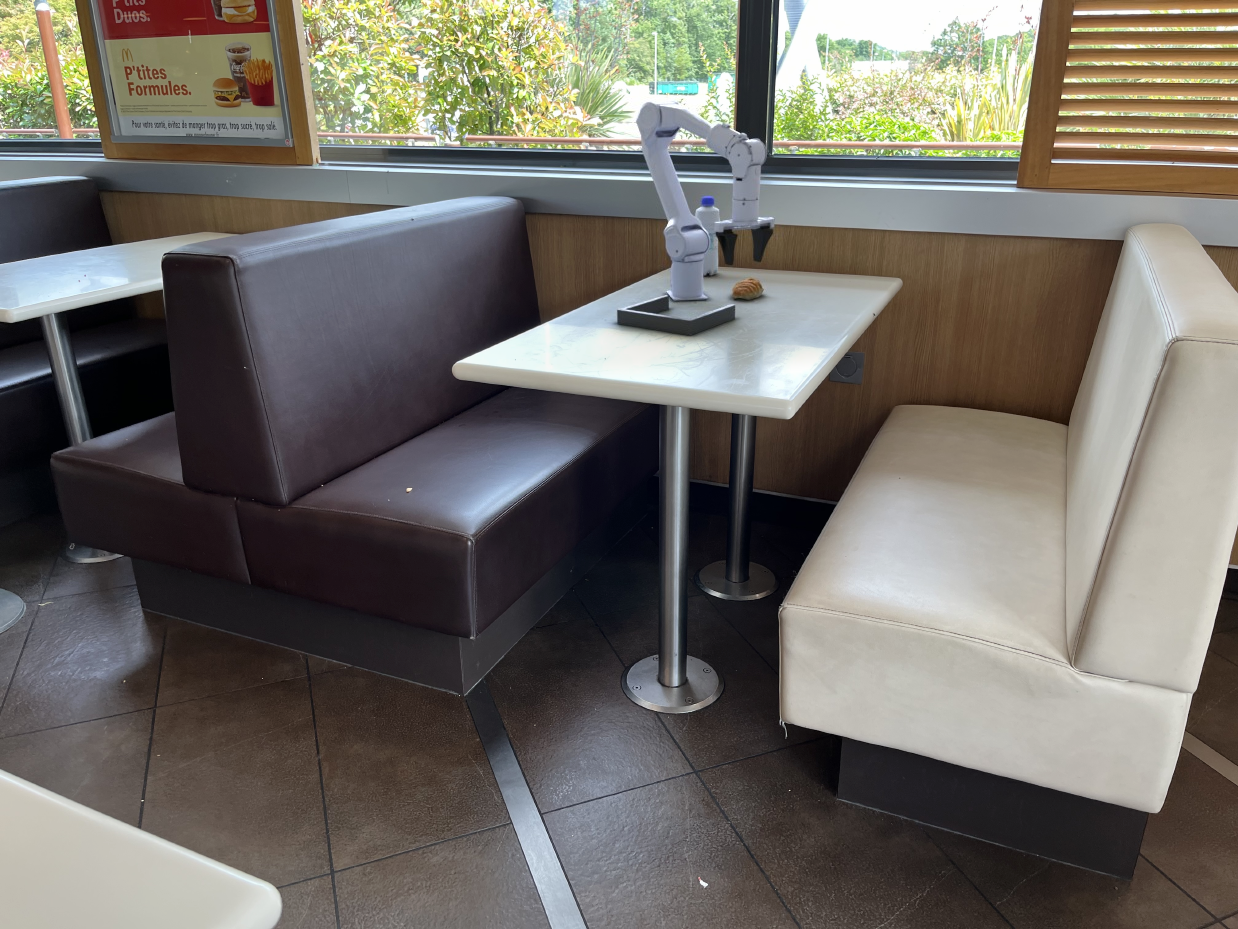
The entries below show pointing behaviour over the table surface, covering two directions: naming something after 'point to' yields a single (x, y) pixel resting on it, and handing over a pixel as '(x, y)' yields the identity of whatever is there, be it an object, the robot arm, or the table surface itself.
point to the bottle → (708, 219)
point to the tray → (647, 318)
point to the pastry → (747, 289)
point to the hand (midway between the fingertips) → (743, 262)
